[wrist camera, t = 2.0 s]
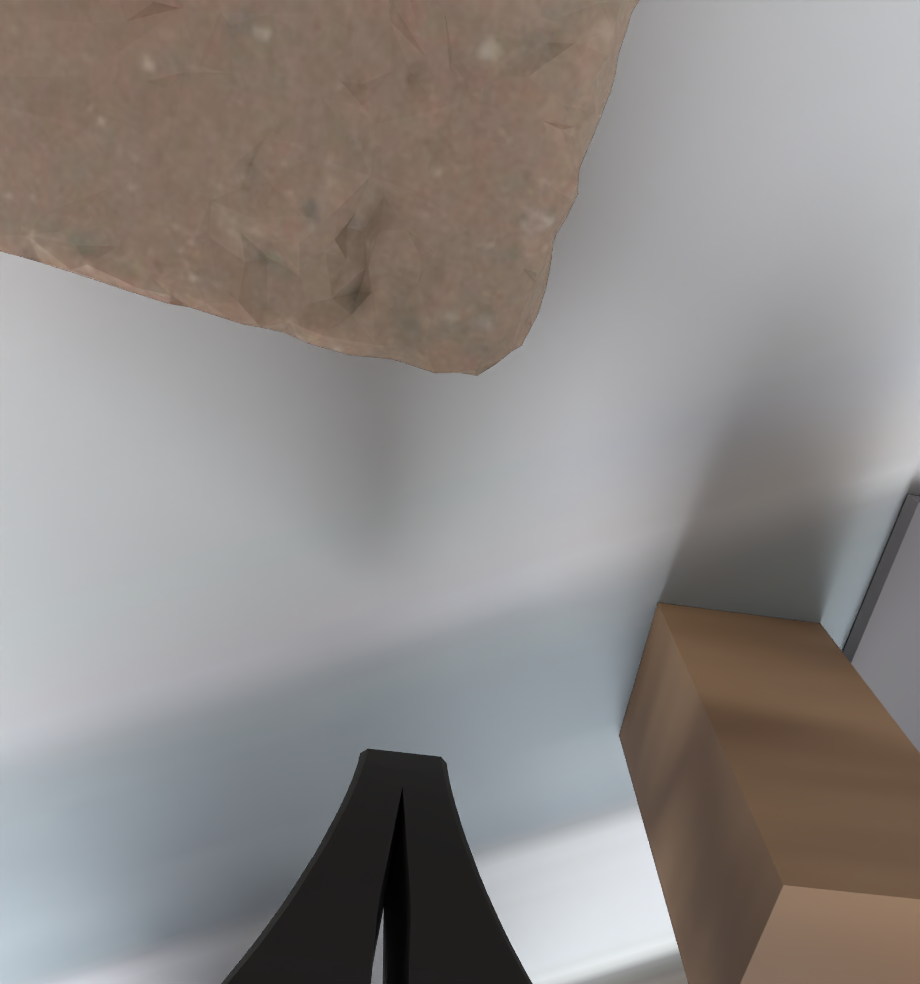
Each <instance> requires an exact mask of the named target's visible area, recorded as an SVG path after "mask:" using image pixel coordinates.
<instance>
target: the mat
mask: <svg viewBox="0 0 920 984" xmlns="http://www.w3.org/2000/svg"><path fill="white" fill-rule="evenodd" d="M843 654H844V655H845V656H846V658H847V659H848V660H849V662H850V663H851V664H852V666H853V667H854V668H855V669H856V671H857V672H858V673H859V675H860V676H861V677H862V679H863V680H864V681H865V683H866V684H867V685H868V686H869V688H870V689H871V690H872V692H873V693H874V694H875V696H876V697H877V698H878V700H879V701H880V702H881V703H882V705H883V706H884V707H885V709H886V710H887V711H888V713H889V714H890V715H891V717H892V718H893V719H894V720H895V722H896V723H897V724H898V726H899V727H900V728H901V730H902V731H903V732H904V734H905V735H906V736H907V737H908V739H909V740H910V741H911V743H912V744H913V745H914V747H915V748H916V749H917V751H918V752H919V753H920V496H917V495H910V494H908V495H907V498H906V500H905V503H904V505H903V507H902V510H901V512H900V515H899V517H898V520H897V522H896V524H895V527H894V529H893V532H892V534H891V537H890V539H889V541H888V544H887V546H886V549H885V551H884V553H883V556H882V558H881V561H880V563H879V566H878V568H877V570H876V573H875V575H874V578H873V580H872V583H871V585H870V587H869V590H868V592H867V595H866V597H865V600H864V602H863V604H862V607H861V609H860V612H859V614H858V617H857V619H856V621H855V624H854V626H853V629H852V631H851V633H850V636H849V638H848V641H847V643H846V646H845V648H844V650H843Z"/></svg>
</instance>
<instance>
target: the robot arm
mask: <svg viewBox="0 0 920 984" xmlns="http://www.w3.org/2000/svg"><path fill="white" fill-rule="evenodd" d="M383 908H384V924H383V984H532V982H531V980H530V979H529V977H528V975H527V973H526V971H525V970H524V968H523V966H522V964H521V962H520V960H519V958H518V956H517V955H516V953H515V951H514V949H513V947H512V945H511V943H510V941H509V939H508V937H507V935H506V933H505V931H504V929H503V927H502V925H501V923H500V921H499V918H498V916H497V914H496V912H495V910H494V907H493V905H492V903H491V901H490V898H489V896H488V894H487V892H486V889H485V887H484V884H483V882H482V879H481V877H480V875H479V872H478V869H477V867H476V864H475V861H474V859H473V856H472V853H471V851H470V848H469V845H468V843H467V840H466V837H465V834H464V831H463V828H462V825H461V822H460V818H459V815H458V812H457V808H456V805H455V801H454V798H453V794H452V790H451V786H450V781H449V776H448V770H447V763H446V762H445V761H444V760H443V759H442V757H437V756H428V755H419V754H411V753H402V752H393V751H384V750H375V749H367V750H365V751H363V752H362V753H360V757H359V761H358V765H357V768H356V771H355V773H354V776H353V779H352V782H351V784H350V786H349V789H348V791H347V793H346V795H345V798H344V800H343V802H342V804H341V806H340V808H339V810H338V812H337V814H336V816H335V818H334V820H333V822H332V824H331V825H330V827H329V829H328V831H327V833H326V835H325V837H324V838H323V840H322V842H321V844H320V846H319V848H318V849H317V851H316V853H315V854H314V856H313V858H312V859H311V861H310V862H309V864H308V866H307V867H306V869H305V870H304V872H303V874H302V875H301V877H300V878H299V880H298V881H297V883H296V885H295V886H294V888H293V889H292V891H291V893H290V894H289V896H288V897H287V898H286V900H285V901H284V903H283V904H282V906H281V907H280V909H279V910H278V911H277V913H276V914H275V916H274V917H273V918H272V920H271V921H270V923H269V924H268V925H267V927H266V928H265V929H264V931H263V932H262V933H261V935H260V936H259V937H258V939H257V940H256V941H255V943H254V944H253V945H252V947H251V948H250V949H249V950H248V952H247V953H246V954H245V955H244V957H243V958H242V959H241V960H240V962H239V963H238V964H237V965H236V966H235V968H234V969H233V970H232V971H231V973H230V974H229V975H228V976H227V978H226V979H225V980H224V981H223V982H222V984H371V976H372V965H373V960H374V955H375V950H376V945H377V939H378V934H379V929H380V924H381V918H382V913H383Z"/></svg>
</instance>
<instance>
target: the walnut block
mask: <svg viewBox="0 0 920 984" xmlns="http://www.w3.org/2000/svg"><path fill="white" fill-rule="evenodd" d="M619 737H620V741H621V744H622V748H623V751H624V755H625V759H626V762H627V766H628V769H629V773H630V777H631V780H632V784H633V787H634V791H635V794H636V798H637V802H638V805H639V809H640V812H641V816H642V819H643V823H644V827H645V830H646V834H647V837H648V841H649V845H650V848H651V852H652V855H653V859H654V862H655V866H656V870H657V873H658V877H659V880H660V884H661V887H662V891H663V895H664V898H665V902H666V905H667V909H668V912H669V916H670V920H671V923H672V927H673V930H674V934H675V938H676V941H677V945H678V948H679V952H680V955H681V959H682V963H683V966H684V970H685V973H686V977H687V980H688V984H920V753H919V752H918V751H917V749H916V748H915V747H914V745H913V744H912V743H911V741H910V740H909V739H908V737H907V736H906V735H905V734H904V732H903V731H902V730H901V728H900V727H899V726H898V724H897V723H896V722H895V720H894V719H893V718H892V717H891V715H890V714H889V713H888V711H887V710H886V709H885V707H884V706H883V705H882V703H881V702H880V701H879V700H878V698H877V697H876V696H875V694H874V693H873V692H872V690H871V689H870V688H869V686H868V685H867V684H866V683H865V681H864V680H863V679H862V677H861V676H860V675H859V673H858V672H857V671H856V669H855V668H854V667H853V666H852V664H851V663H850V662H849V660H848V659H847V658H846V656H845V655H844V654H843V652H842V651H841V650H840V649H839V647H838V646H837V645H836V643H835V642H834V641H833V639H832V638H831V637H830V635H829V634H828V633H827V631H826V630H825V629H824V628H823V626H822V625H821V624H820V623H813V622H805V621H797V620H789V619H782V618H774V617H766V616H758V615H750V614H743V613H735V612H727V611H719V610H711V609H703V608H696V607H688V606H680V605H672V604H664V603H658V604H657V607H656V611H655V614H654V618H653V621H652V624H651V628H650V631H649V635H648V638H647V641H646V645H645V648H644V652H643V655H642V659H641V662H640V665H639V669H638V672H637V676H636V679H635V683H634V686H633V689H632V693H631V696H630V700H629V703H628V707H627V710H626V713H625V717H624V720H623V724H622V727H621V731H620V734H619Z"/></svg>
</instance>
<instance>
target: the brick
mask: <svg viewBox="0 0 920 984" xmlns="http://www.w3.org/2000/svg"><path fill="white" fill-rule="evenodd" d="M638 2H639V0H0V251H2V252H5V253H9V254H13V255H17V256H20V257H24V258H27V259H31V260H34V261H38V262H41V263H44V264H47V265H51V266H54V267H57V268H60V269H63V270H66V271H70V272H73V273H76V274H79V275H82V276H85V277H88V278H91V279H94V280H97V281H100V282H103V283H106V284H109V285H112V286H115V287H118V288H121V289H124V290H127V291H130V292H133V293H137V294H140V295H143V296H146V297H149V298H152V299H156V300H159V301H162V302H165V303H168V304H174V305H180V306H186V307H191V308H194V309H197V310H200V311H203V312H207V313H210V314H213V315H216V316H219V317H222V318H225V319H228V320H231V321H235V322H238V323H241V324H245V325H250V326H256V327H262V328H266V329H271V330H275V331H280V332H285V333H287V334H289V335H291V336H293V337H296V338H298V339H300V340H302V341H305V342H307V343H309V344H312V345H316V346H319V347H323V348H327V349H330V350H334V351H337V352H341V353H345V354H348V355H354V356H365V357H376V358H387V359H394V360H397V361H400V362H403V363H406V364H409V365H412V366H415V367H418V368H421V369H424V370H427V371H430V372H433V373H464V374H470V375H476V376H478V375H479V374H481V373H482V372H484V371H486V370H487V369H489V368H490V367H492V366H494V365H495V364H496V363H498V362H499V361H500V360H501V359H503V358H504V357H505V356H506V355H508V354H509V353H510V352H511V351H513V350H514V349H516V348H518V347H520V346H521V345H522V343H523V341H524V339H525V338H526V336H527V334H528V332H529V330H530V328H531V326H532V324H533V322H534V320H535V319H536V317H537V315H538V312H539V309H540V306H541V302H542V299H543V295H544V292H545V288H546V285H547V280H548V275H549V269H550V264H551V259H552V255H551V252H552V250H553V243H554V239H555V236H556V233H557V232H558V230H559V229H560V227H561V225H562V224H563V222H564V220H565V219H566V217H567V215H568V213H569V211H570V209H571V207H572V205H573V203H574V201H575V199H576V196H577V194H578V179H579V168H580V166H581V163H582V161H583V159H584V156H585V154H586V152H587V149H588V147H589V144H590V142H591V140H592V137H593V135H594V132H595V130H596V127H597V125H598V122H599V120H600V117H601V114H602V112H603V109H604V107H605V104H606V102H607V99H608V97H609V95H610V92H611V88H612V85H613V81H614V77H615V73H616V66H617V59H618V54H619V51H620V48H621V45H622V42H623V39H624V36H625V33H626V30H627V27H628V23H629V20H630V17H631V13H632V11H633V10H634V8H635V6H636V5H637V3H638Z"/></svg>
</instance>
